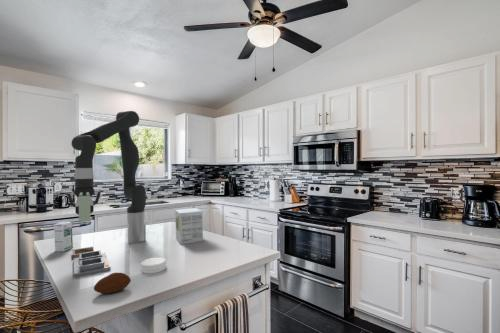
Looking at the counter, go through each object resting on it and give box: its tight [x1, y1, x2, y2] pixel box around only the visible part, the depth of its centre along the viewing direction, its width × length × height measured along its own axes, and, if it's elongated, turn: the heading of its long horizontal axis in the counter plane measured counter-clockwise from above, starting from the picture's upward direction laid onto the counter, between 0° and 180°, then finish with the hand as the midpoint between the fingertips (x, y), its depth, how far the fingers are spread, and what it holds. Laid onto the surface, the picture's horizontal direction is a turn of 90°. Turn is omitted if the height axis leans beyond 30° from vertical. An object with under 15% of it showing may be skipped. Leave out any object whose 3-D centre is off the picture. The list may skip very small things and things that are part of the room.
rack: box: [73, 250, 112, 278], centre depth 119 cm, size 13×22×4 cm, turn 33°
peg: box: [78, 196, 91, 223], centre depth 127 cm, size 5×5×12 cm
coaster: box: [140, 257, 167, 274], centre depth 114 cm, size 10×10×4 cm
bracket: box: [72, 246, 94, 260], centre depth 134 cm, size 9×10×2 cm
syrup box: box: [53, 221, 74, 252], centre depth 143 cm, size 6×6×14 cm
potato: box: [93, 272, 132, 295], centre depth 94 cm, size 6×12×6 cm, turn 123°
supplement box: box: [174, 207, 204, 245], centre depth 157 cm, size 13×13×18 cm
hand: (84, 213), depth 127 cm, fingers closed on peg, 4 cm apart
